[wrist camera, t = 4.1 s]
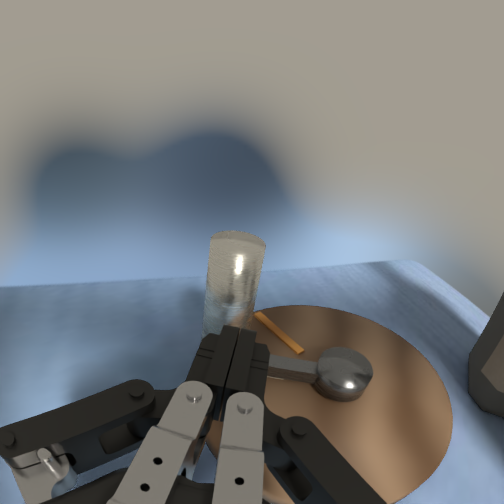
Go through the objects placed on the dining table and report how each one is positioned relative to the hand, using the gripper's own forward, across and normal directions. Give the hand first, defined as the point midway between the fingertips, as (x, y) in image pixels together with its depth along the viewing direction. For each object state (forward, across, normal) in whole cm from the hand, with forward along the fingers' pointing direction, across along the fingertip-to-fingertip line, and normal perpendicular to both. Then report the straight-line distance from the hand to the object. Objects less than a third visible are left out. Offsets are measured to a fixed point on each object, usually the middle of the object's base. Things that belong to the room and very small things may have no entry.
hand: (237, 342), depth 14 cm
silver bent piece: (+5, -3, +7) cm, 9 cm away
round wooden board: (+5, -7, +8) cm, 12 cm away
